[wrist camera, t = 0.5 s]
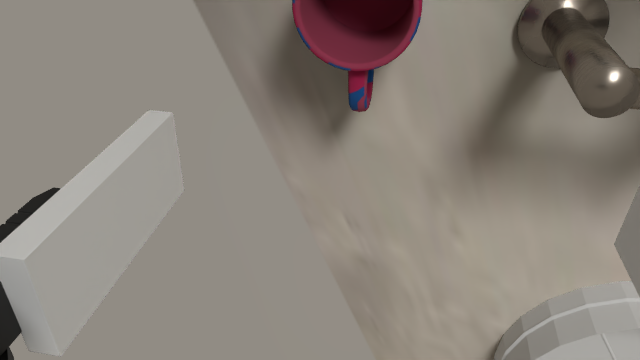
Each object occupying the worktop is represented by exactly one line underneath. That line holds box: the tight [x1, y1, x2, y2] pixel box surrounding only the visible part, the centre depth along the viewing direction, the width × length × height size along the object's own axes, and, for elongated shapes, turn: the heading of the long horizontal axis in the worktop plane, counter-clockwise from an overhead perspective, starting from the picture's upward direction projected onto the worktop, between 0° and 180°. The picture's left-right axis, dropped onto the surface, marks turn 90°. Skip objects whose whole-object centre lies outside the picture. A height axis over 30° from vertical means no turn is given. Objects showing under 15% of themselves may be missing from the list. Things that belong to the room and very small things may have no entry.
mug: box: [292, 0, 422, 112], centre depth 30 cm, size 7×10×7 cm
